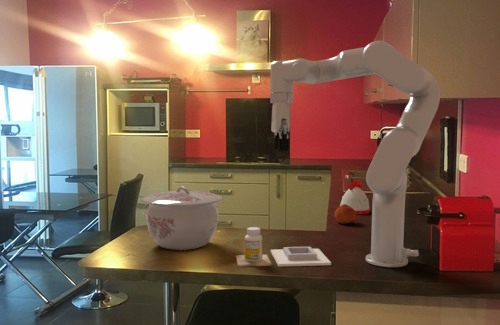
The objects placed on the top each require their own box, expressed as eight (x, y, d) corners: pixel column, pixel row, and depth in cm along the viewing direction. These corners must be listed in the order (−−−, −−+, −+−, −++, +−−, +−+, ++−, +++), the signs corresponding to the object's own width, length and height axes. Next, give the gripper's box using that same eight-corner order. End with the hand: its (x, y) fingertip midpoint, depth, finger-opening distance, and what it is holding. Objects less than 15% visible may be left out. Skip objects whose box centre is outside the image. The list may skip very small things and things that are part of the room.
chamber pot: (211, 258, 154) (211, 193, 152) (128, 254, 159) (127, 190, 157) (230, 237, 181) (230, 181, 179) (160, 234, 186) (159, 179, 184)
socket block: (318, 250, 164) (318, 243, 163) (331, 265, 148) (331, 257, 148) (270, 252, 162) (270, 244, 162) (278, 266, 146) (278, 258, 146)
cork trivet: (266, 256, 157) (266, 254, 157) (271, 265, 147) (271, 263, 147) (235, 257, 156) (235, 255, 156) (238, 266, 146) (238, 264, 146)
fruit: (350, 226, 201) (351, 207, 201) (331, 223, 207) (331, 204, 206) (359, 222, 208) (360, 204, 208) (340, 220, 214) (341, 202, 213)
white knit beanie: (375, 212, 233) (376, 180, 231) (355, 215, 225) (355, 182, 224) (354, 207, 244) (354, 177, 243) (333, 210, 236) (334, 179, 235)
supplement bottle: (252, 256, 155) (252, 225, 154) (265, 259, 152) (266, 228, 151) (241, 259, 151) (241, 228, 150) (255, 263, 147) (255, 231, 146)
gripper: (266, 99, 172) (266, 148, 174) (274, 97, 155) (273, 151, 156) (288, 99, 173) (287, 148, 174) (297, 97, 156) (297, 151, 157)
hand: (280, 149), depth 165 cm, fingers open, 9 cm apart
